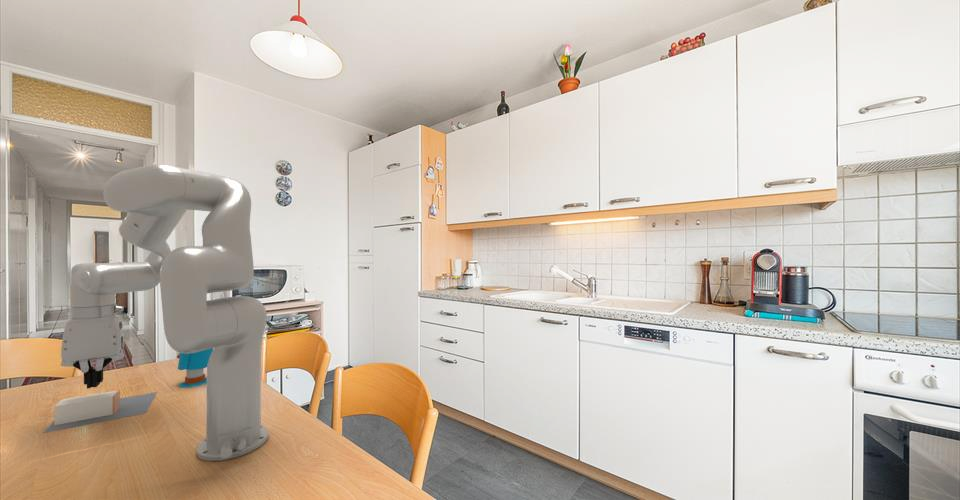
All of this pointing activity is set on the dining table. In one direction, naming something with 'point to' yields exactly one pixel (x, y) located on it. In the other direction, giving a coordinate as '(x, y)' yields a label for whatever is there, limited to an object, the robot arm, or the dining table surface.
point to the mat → (127, 409)
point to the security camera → (194, 367)
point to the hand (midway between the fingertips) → (93, 386)
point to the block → (87, 407)
